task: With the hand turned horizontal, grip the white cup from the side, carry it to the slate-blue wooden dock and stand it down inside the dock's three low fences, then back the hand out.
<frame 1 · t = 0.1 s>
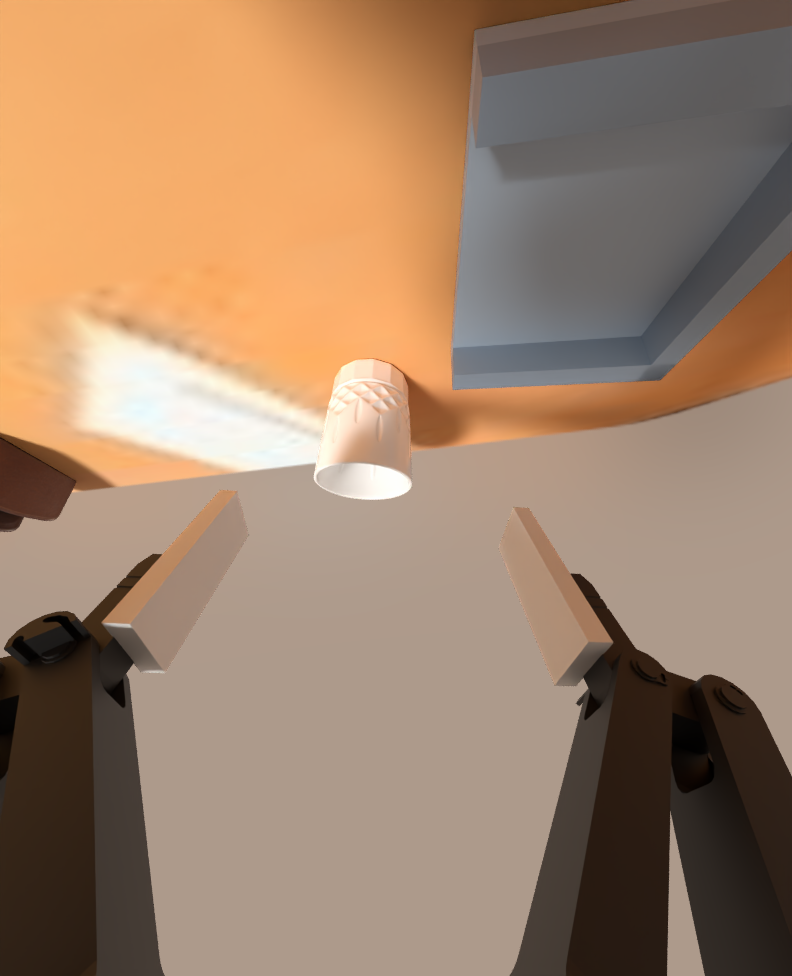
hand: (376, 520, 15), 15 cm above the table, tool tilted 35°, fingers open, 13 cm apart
white cup: (371, 383, 28), on the table
dock: (589, 237, 16), on the table
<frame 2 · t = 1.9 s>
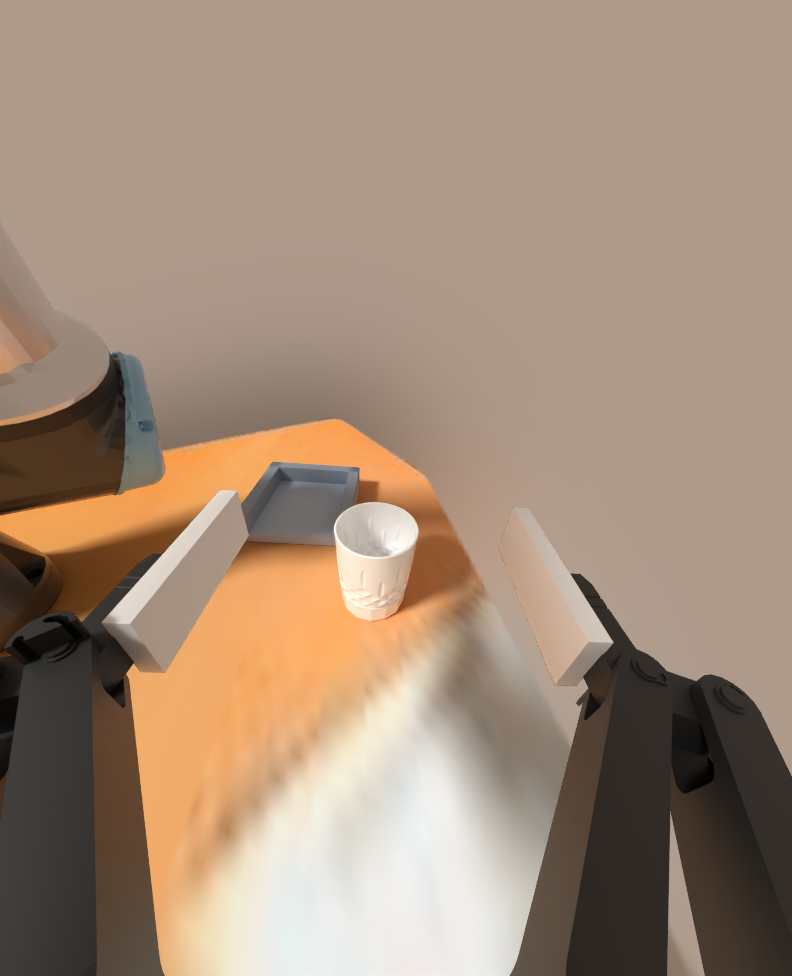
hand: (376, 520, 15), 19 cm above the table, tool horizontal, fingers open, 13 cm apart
white cup: (373, 595, 33), on the table
dock: (307, 510, 44), on the table
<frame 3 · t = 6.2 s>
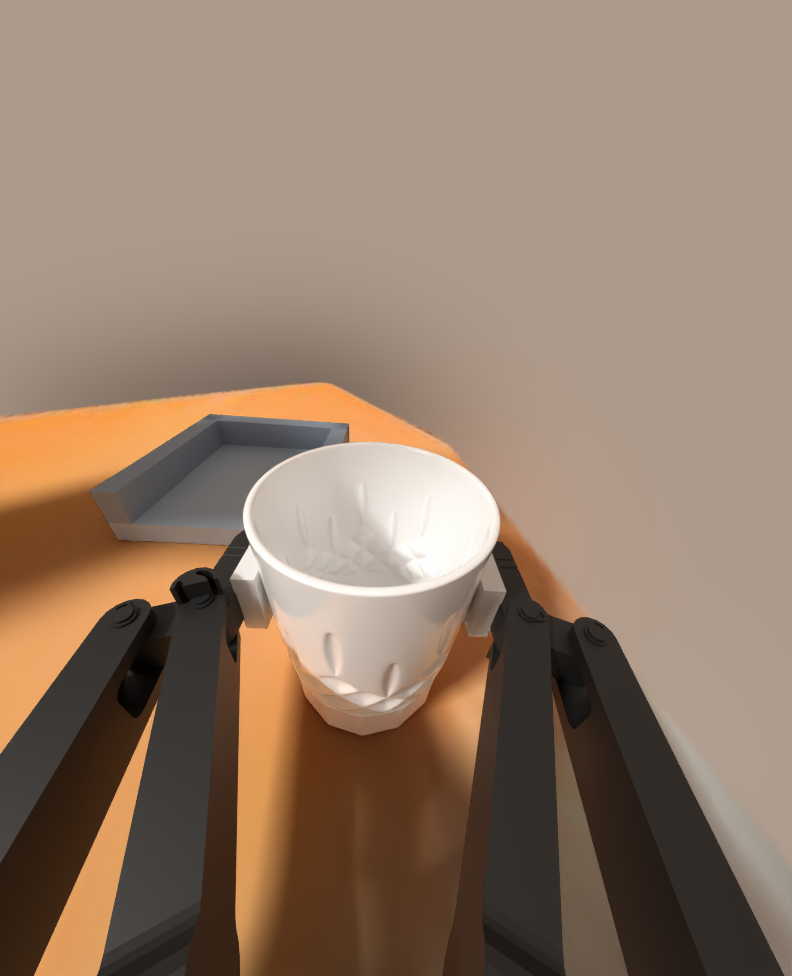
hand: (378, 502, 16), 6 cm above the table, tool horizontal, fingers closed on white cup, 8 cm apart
white cup: (369, 656, 15), on the table, touching gripper
dock: (260, 489, 26), on the table
when the fingers open (9 cm above the table, at t = 11.0 s): white cup drops 2 cm, resting on dock.
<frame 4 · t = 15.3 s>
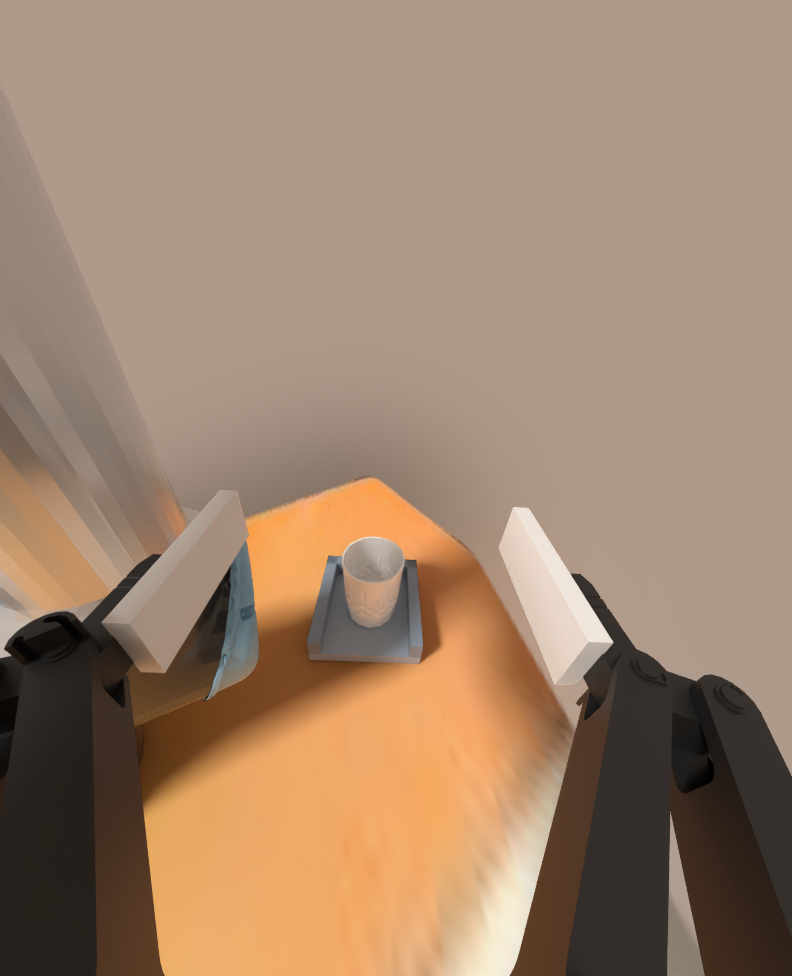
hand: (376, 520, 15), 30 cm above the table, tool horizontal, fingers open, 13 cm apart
white cup: (371, 607, 43), point 1 cm above the table, touching dock
dock: (368, 612, 43), on the table
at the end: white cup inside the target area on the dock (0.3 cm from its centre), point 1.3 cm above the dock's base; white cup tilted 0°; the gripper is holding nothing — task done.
